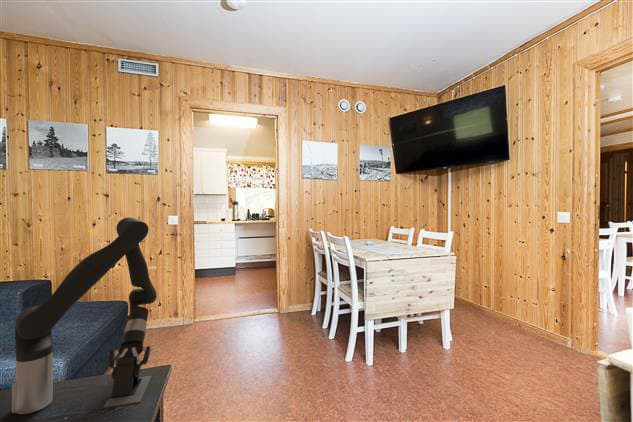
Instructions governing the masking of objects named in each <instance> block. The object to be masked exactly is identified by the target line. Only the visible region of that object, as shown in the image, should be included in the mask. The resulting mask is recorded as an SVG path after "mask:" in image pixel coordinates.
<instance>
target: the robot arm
mask: <svg viewBox="0 0 633 422" xmlns="http://www.w3.org/2000/svg"><path fill="white" fill-rule="evenodd" d="M116 233H117V237H116V238H114V240H113V241H112V242H111V243H109V244H107V245H106V246H104V247H102V248H100V249H99V250H97V251H94V252H93V253H91V254H89V255H88V256H86V257H84V259H82V260H81V261H79V263H78V264H77V265H75V267H73V268H72V269H71V270H70V271H69V272H68V274H66V276H65V277H64V279H62V281H61V283H60V284H59V286H58V287H57V289H56V290H55V291H54V292H53V293H52V294H51V295H50V296H49V297H48V298H47V299H46V300H44V301H43V302H42V303H41V304H40V305H35V306H30V307H27V308H26V309H24V310H23V311H21V312H19V314H18V315H17V317H16V319H15V323H14V324H15V325H14V339H15V340H14V341H15V343H14V349H15V382H13V384H12V385H11V413H12V414H17V415H27V414H31V413H34V412H35V413H36V412H38V411H41V410H42V409H44V408H46V407H47V406H49V405H50V404H51V403H52V402H53V394H54V393H53V390H54V389H53V383H54V382H53V381H54V380H53V375H54V373H53V372H54V371H53V368H54V367H53V366H54V364H53V363H54V362H53V361H54V359H53V357H54V344H53V337H52V329H53V328H54V327H55V326H56V325H57V324H58V322H59V321H60V320H61V319H62V318H63V316H64V315H65V314H66V313H67V312H68V311H69V310H70V308H71V307H72V306H73V305H75V304H76V302H78V301H79V300H80V299H81V298H82V297H83V296H84V295H86V293H88V291H90V290H91V289H92V288H93V287H94V286H95V285H96V284H97V283H99V281H100V280H101V279H102V278H103V277H104V276H105V275H106V274H107V273H108V272H109V271H110V270H111V269H112V268H113V267H114V266H115V265H116V264H117V263H118V262H120V261H121V259H122V258H123V257H124V256H125V259H126V264H127V268H128V274H129V280H130V284H131V285H132V286H133V287H135V288H134V289H132V290H131V292H129V295H128V301H129V315H128V318H127V323H126V325H125V328H124V331H123V335H122V340H121V344H120V347H119V348H118V349H116V350H114V349H111V350H110V351H109V357H108V364H107V365H108V367H109V369H112V372H111V378H112V379H113V381H114V379H115V372H116V361H115V358H116V357H117V356H118V354H119V357H118V358H117V359H119V358H120V357H135V356H136V357H137V362H136V363H137V365H136V367H135V372H134V377H137V375H139V376H140V372H141V367H142V366H143V365H146V364H148V360H149V358H150V354H151V350H152V348H151V346H150V345H148V346H144V341H145V336H146V333H147V322H148V316H149V313H150V312H149V309H148V308H147V307H145V306H143V305H151V304H153V303H155V301H156V300H157V295H158V294H157V291H156V288H155V287H154V285H153V283H152V281H151V279H150V274H149V267H148V264H147V261H146V259H145V257H144V255H143V252H142V250H141V247H140V243H141V242H142V241H144V240H145V239H146V237H147V236H148V234H149V226H148V224H147V223H146V222H144V221H143V220H140V219H137V218H134V217H128V216H127V217H123V218H122V219H120V220H118V222H117V224H116ZM141 305H142V306H141ZM142 352H143V353H144V355H143V358H142V360H141V359H140V354H141V353H142Z"/></svg>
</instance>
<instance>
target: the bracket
mask: <svg viewBox="0 0 633 422" xmlns="http://www.w3.org/2000/svg"><path fill="white" fill-rule="evenodd" d="M139 379H140V383H139V384H138V385H137V387H136V388H137V389H136V390H135V393H134V395H130V396H122V397H111V398H109V399H107V401H105V404H104V405H103V409H108V408H114V407H115V408H116V407H121V406H127V405H133V404H141V401H142V400H143V398H144V395H145V393H146V390H147V388H148V386H149V384H150V382H151V379H152V375H146V376H139Z"/></svg>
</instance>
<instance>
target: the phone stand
mask: <svg viewBox="0 0 633 422" xmlns="http://www.w3.org/2000/svg"><path fill="white" fill-rule="evenodd" d="M119 357H120V356H119ZM119 357H118V358H119ZM118 358H117V359H116V361H115V363H116V372H115V379H114V380H113V385H112V391H111V398H119V397H126V396H132V394H133V392H134V391H136V388H138V386H139V384H140V382H141V380H140V379H139V377H140V374H139V375H137V377H134V372H135V367H136V365H137V363H136V362H137V357H136V356H135V357H120V358H119V359H118Z"/></svg>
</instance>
